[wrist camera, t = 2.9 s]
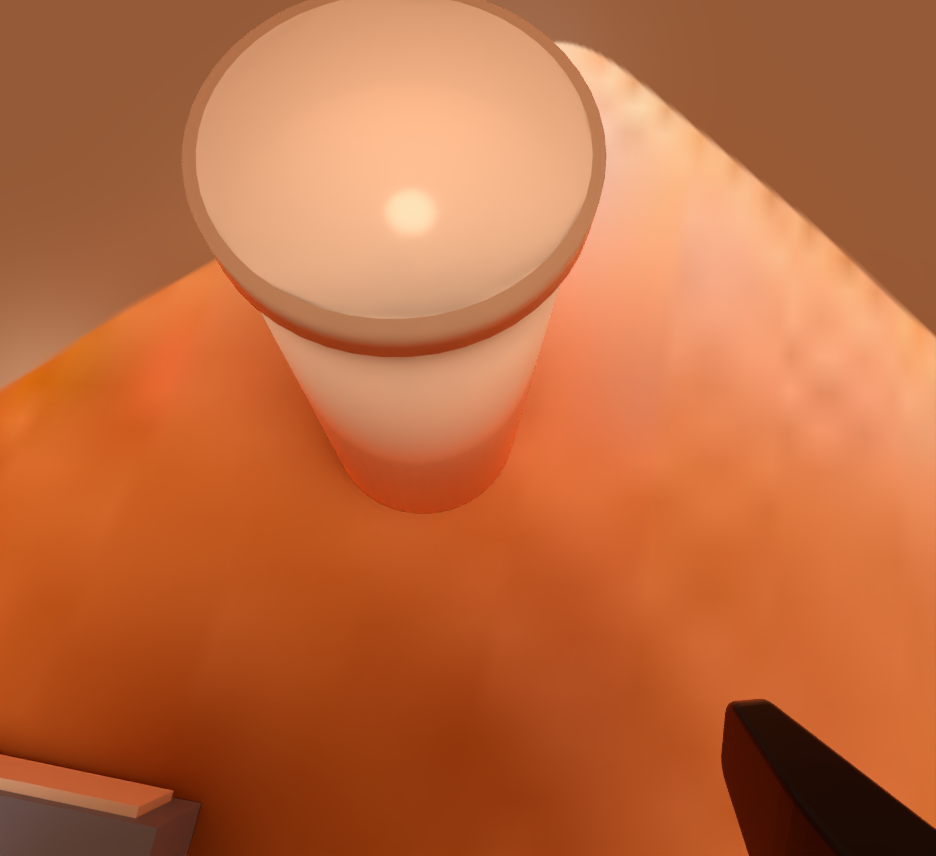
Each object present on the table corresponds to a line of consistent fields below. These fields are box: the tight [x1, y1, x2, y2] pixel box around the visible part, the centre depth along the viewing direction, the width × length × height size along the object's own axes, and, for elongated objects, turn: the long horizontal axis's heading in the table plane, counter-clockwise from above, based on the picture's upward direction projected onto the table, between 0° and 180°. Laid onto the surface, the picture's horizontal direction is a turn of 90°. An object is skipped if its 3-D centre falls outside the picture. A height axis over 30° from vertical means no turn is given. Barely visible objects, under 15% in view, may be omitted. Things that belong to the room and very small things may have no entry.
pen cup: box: [182, 0, 606, 514], centre depth 16 cm, size 6×6×13 cm
